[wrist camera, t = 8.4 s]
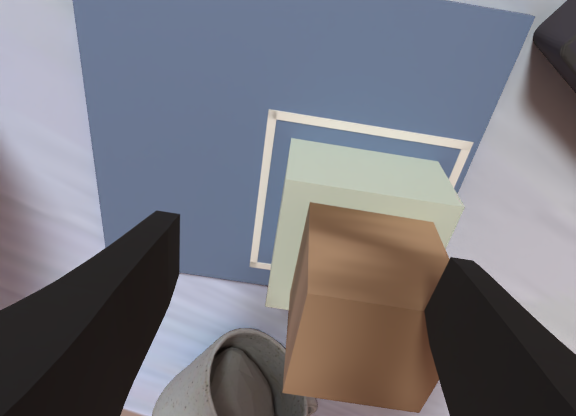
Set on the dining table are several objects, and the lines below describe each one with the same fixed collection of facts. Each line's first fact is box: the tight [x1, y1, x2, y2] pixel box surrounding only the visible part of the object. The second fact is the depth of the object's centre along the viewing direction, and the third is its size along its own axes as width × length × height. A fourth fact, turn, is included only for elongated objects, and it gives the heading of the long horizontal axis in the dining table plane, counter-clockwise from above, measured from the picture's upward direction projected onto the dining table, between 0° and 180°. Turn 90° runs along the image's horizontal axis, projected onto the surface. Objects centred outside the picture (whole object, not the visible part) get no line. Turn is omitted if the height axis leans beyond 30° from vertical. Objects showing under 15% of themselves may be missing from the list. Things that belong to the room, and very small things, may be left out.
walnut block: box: [282, 202, 450, 413], centre depth 15 cm, size 5×5×5 cm
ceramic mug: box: [152, 328, 317, 416], centre depth 26 cm, size 11×8×8 cm
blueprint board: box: [73, 0, 535, 286], centre depth 20 cm, size 18×16×1 cm
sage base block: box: [265, 138, 465, 310], centre depth 19 cm, size 7×7×4 cm
